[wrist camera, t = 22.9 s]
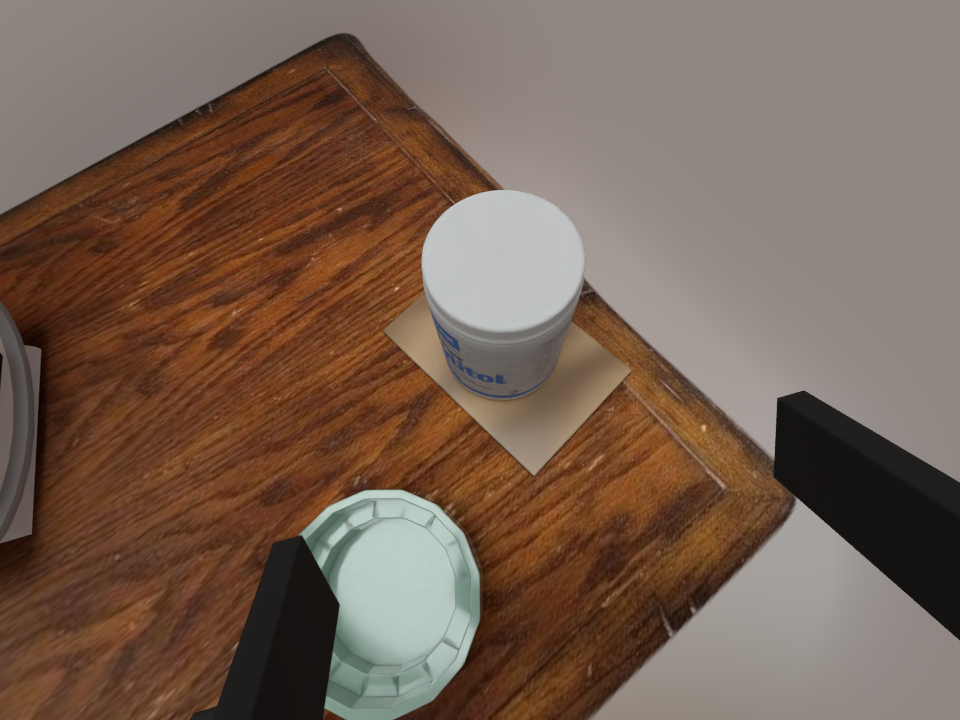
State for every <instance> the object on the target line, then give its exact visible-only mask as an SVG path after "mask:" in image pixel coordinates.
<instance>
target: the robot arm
mask: <svg viewBox="0 0 960 720" xmlns="http://www.w3.org/2000/svg"><path fill="white" fill-rule="evenodd" d="M774 478H775V479H776V480H778V481H779V482H780V483H781V484H782V485H783V486H784V487H786V488H787V489H788V490H789V491H790V492H791V493H792V494H794V495H795V496H796V497H797V498H798V499H799V500H800V501H802V502H803V503H804V504H805V505H806V506H807V507H808V508H810V509H811V510H812V511H813V512H814V513H815V514H816V515H818V516H819V517H820V518H821V519H822V520H823V521H824V522H826V523H827V524H828V525H829V526H830V527H831V528H832V529H833V530H835V531H836V532H837V533H838V534H839V535H840V536H841V537H843V538H844V539H845V540H846V541H847V542H848V543H849V544H851V545H852V546H853V547H854V548H855V549H856V550H857V551H859V552H860V553H861V554H862V555H863V556H864V557H865V558H867V559H868V560H869V561H870V562H871V563H872V564H873V565H875V566H876V567H877V568H878V569H879V570H880V571H882V572H883V573H884V574H885V575H886V576H887V577H888V578H889V579H891V580H892V581H893V582H894V583H895V584H896V585H897V586H898V587H900V588H901V589H902V590H903V591H904V592H905V593H907V594H908V595H909V596H910V597H911V598H913V600H914V601H916V602H917V603H918V604H919V605H920V606H921V607H922V608H924V609H925V610H926V611H927V612H928V613H929V614H930V615H931V616H933V617H934V618H935V619H936V620H937V621H938V622H940V623H941V624H942V625H943V626H944V627H945V628H946V629H948V630H949V631H950V632H951V633H952V634H953V635H954V636H955V637H957V638H958V639H959V640H960V482H958V481H956V480H955V479H953V478H951V477H949V476H948V475H946V474H944V473H943V472H941V471H939V470H938V469H936V468H934V467H933V466H931V465H929V464H927V463H926V462H924V461H922V460H921V459H919V458H917V457H916V456H914V455H912V454H911V453H909V452H907V451H905V450H904V449H902V448H900V447H899V446H897V445H895V444H894V443H892V442H890V441H889V440H887V439H885V438H884V437H882V436H880V435H878V434H877V433H875V432H873V431H872V430H870V429H868V428H867V427H865V426H863V425H862V424H860V423H858V422H857V421H855V420H853V419H851V418H850V417H848V416H846V415H845V414H843V413H841V412H840V411H838V410H836V409H835V408H833V407H831V406H830V405H828V404H826V403H824V402H823V401H821V400H819V399H818V398H816V397H814V396H813V395H811V394H809V393H808V392H806V391H801V392H797V393H794V394H790V395H787V396H783V397H780V398H778V399H777V418H776V439H775V461H774ZM339 607H340V604H339V602H338V600H337V598H336V596H335V595H334V593H333V591H332V589H331V587H330V585H329V584H328V582H327V580H326V578H325V576H324V574H323V572H322V571H321V569H320V567H319V565H318V563H317V561H316V560H315V558H314V556H313V554H312V552H311V550H310V549H309V547H308V545H307V543H306V541H305V539H304V538H303V536H302V535H300V536H297V537H293V538H290V539H286V540H283V541H279V542H276V543H273V545H272V548H271V551H270V554H269V557H268V560H267V563H266V566H265V569H264V572H263V574H262V577H261V580H260V583H259V586H258V589H257V592H256V595H255V598H254V601H253V603H252V606H251V609H250V612H249V615H248V618H247V621H246V624H245V627H244V629H243V632H242V635H241V638H240V641H239V644H238V647H237V650H236V653H235V656H234V658H233V661H232V664H231V667H230V670H229V673H228V676H227V679H226V682H225V685H224V687H223V690H222V693H221V696H220V699H219V702H218V705H217V706H216V707H213V708H210V709H206V710H203V711H200V712H196V713H194V714H193V715H192V717H191V718H190V720H323V714H324V707H325V701H326V694H327V687H328V681H329V674H330V667H331V661H332V654H333V647H334V641H335V634H336V627H337V621H338V614H339Z"/></svg>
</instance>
